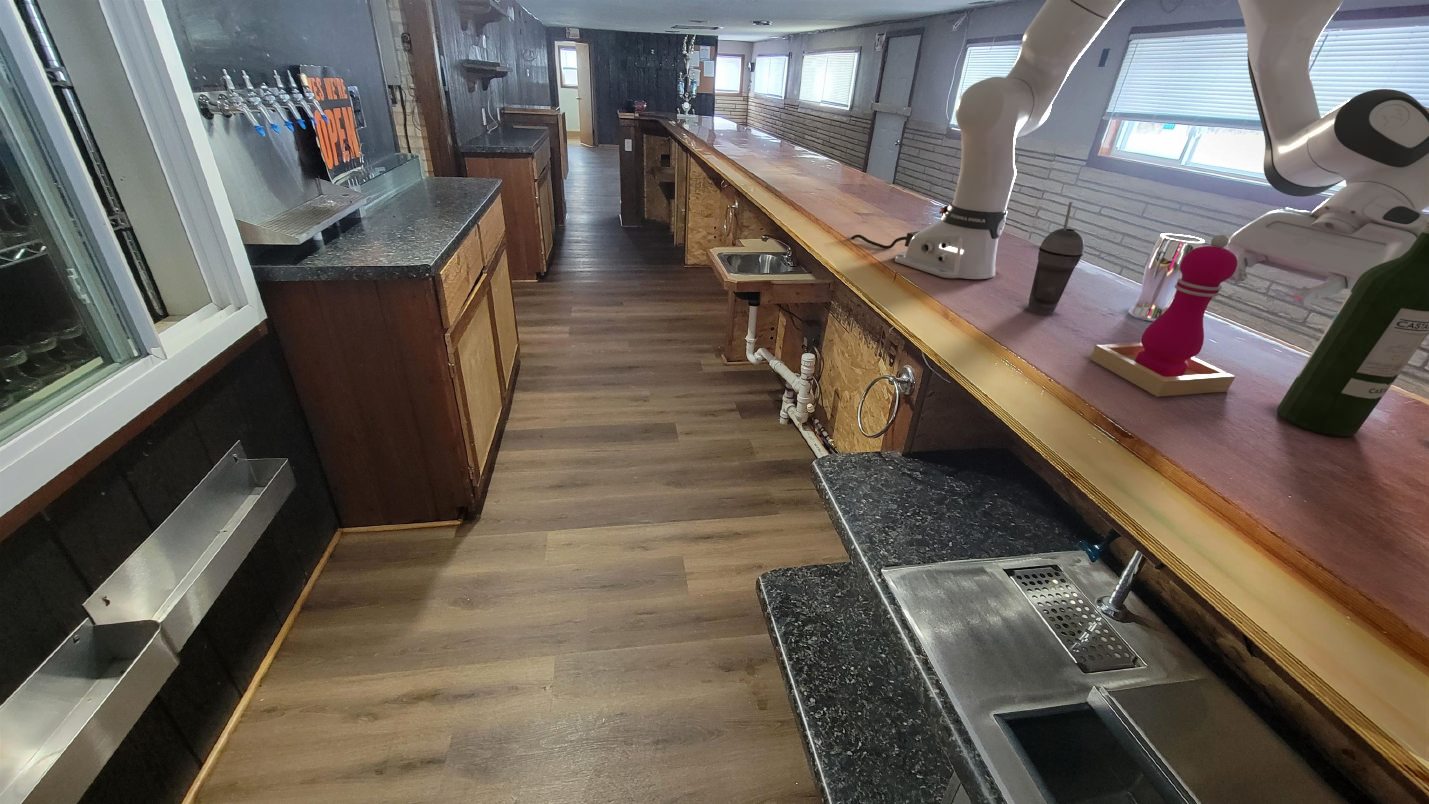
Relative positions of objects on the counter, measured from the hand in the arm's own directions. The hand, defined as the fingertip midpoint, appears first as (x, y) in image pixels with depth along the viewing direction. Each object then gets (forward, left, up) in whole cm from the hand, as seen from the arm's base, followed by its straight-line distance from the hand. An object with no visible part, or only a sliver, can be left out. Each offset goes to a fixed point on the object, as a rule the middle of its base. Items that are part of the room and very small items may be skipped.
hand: (1263, 290), depth 82 cm
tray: (-7, -10, -13) cm, 18 cm away
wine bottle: (+11, -10, -13) cm, 20 cm away
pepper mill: (-7, -10, -12) cm, 17 cm away
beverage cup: (-29, +6, -13) cm, 32 cm away
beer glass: (-14, +20, -13) cm, 28 cm away
